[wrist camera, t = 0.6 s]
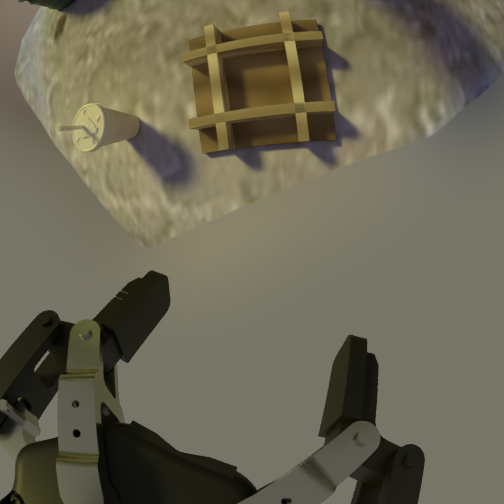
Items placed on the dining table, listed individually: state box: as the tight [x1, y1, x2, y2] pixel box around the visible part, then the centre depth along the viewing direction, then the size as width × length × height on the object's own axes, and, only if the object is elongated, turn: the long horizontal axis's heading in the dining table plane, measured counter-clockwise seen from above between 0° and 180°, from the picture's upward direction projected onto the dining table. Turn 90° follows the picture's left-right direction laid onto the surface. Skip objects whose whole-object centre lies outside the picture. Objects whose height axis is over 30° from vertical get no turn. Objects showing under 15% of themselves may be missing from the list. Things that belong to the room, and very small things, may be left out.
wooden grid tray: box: [182, 12, 336, 153], centre depth 28 cm, size 17×17×4 cm
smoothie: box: [58, 103, 140, 152], centre depth 28 cm, size 6×6×14 cm
